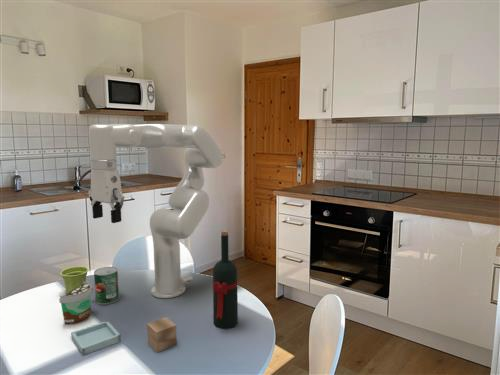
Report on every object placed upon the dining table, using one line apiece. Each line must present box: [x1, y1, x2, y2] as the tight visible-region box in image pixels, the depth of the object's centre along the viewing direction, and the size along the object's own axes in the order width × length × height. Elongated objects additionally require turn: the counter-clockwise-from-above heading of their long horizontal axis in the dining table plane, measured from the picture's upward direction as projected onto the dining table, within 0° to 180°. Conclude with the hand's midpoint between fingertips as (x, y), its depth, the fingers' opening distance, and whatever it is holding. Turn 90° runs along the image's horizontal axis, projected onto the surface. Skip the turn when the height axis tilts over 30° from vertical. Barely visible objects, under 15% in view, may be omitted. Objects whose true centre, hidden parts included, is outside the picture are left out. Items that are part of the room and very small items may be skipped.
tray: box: [70, 320, 122, 356], centre depth 111 cm, size 11×11×2 cm
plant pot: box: [60, 265, 89, 295], centre depth 142 cm, size 9×9×9 cm
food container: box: [58, 281, 94, 325], centre depth 123 cm, size 12×6×10 cm, turn 168°
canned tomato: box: [93, 266, 120, 305], centre depth 136 cm, size 8×8×11 cm
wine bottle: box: [212, 229, 239, 330], centre depth 118 cm, size 8×10×30 cm
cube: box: [146, 316, 178, 353], centre depth 109 cm, size 6×6×6 cm
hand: (107, 219), depth 119 cm, fingers open, 9 cm apart
